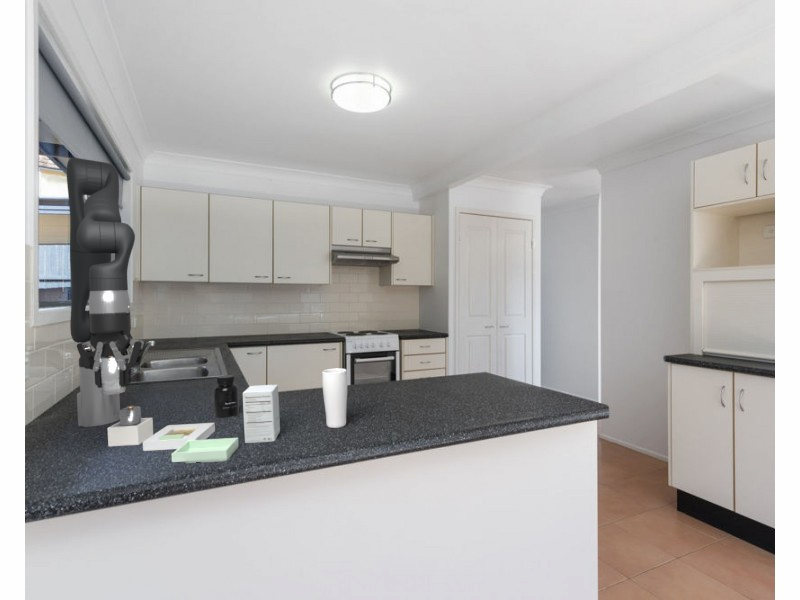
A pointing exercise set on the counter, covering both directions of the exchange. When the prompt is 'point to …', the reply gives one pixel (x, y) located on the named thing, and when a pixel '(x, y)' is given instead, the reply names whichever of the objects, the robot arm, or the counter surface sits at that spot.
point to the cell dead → (130, 416)
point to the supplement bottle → (226, 397)
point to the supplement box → (261, 413)
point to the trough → (205, 450)
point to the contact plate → (182, 432)
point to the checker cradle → (177, 436)
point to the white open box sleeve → (130, 433)
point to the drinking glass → (335, 396)
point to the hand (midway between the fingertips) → (113, 386)
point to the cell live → (110, 376)
